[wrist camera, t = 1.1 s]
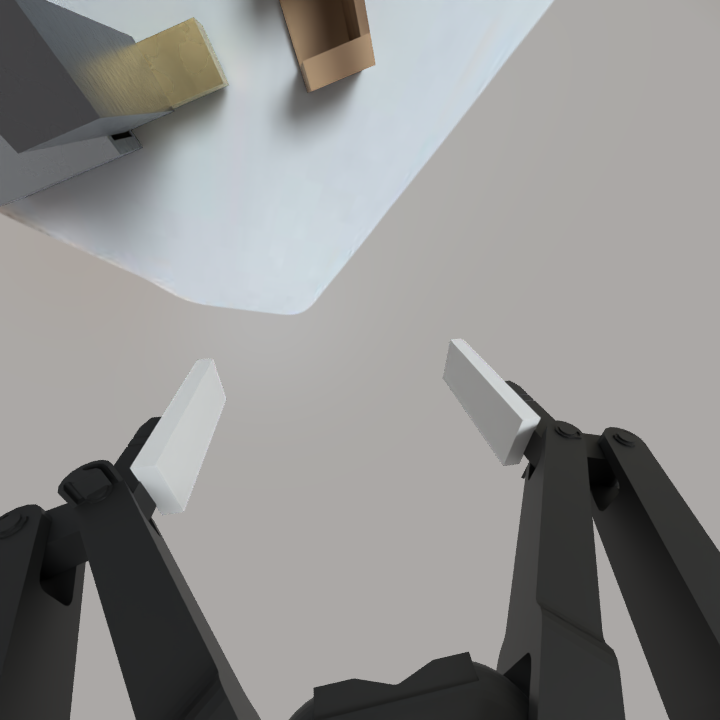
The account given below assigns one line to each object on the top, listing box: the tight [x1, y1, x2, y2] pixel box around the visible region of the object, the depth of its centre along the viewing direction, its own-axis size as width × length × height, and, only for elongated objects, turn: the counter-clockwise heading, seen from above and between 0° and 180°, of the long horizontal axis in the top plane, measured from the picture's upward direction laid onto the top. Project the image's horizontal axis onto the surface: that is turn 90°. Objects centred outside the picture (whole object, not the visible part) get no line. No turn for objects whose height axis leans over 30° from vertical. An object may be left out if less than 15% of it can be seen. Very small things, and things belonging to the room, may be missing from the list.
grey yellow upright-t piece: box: [0, 0, 229, 154], centre depth 20 cm, size 24×4×17 cm, turn 107°
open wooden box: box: [279, 0, 375, 92], centre depth 24 cm, size 6×9×6 cm, turn 17°
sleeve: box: [0, 130, 143, 206], centre depth 25 cm, size 14×7×6 cm, turn 107°
